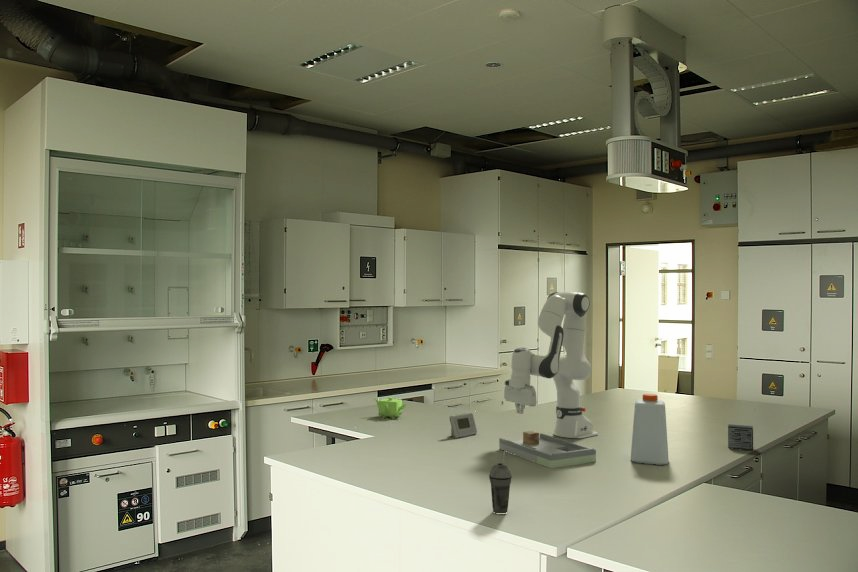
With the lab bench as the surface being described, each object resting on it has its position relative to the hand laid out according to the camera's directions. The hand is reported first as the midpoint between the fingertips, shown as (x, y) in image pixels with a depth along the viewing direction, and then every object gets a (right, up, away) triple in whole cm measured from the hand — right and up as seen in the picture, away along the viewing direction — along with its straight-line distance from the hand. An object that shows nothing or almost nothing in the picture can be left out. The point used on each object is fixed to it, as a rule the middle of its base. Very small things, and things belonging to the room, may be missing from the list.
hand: (519, 413), depth 304 cm
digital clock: (-25, -16, +22) cm, 37 cm away
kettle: (-64, -16, +69) cm, 95 cm away
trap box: (+9, -15, -16) cm, 24 cm away
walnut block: (+4, -12, -7) cm, 15 cm away
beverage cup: (-19, -14, -93) cm, 96 cm away
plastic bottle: (+52, -16, -23) cm, 59 cm away
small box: (+103, -17, +2) cm, 104 cm away
